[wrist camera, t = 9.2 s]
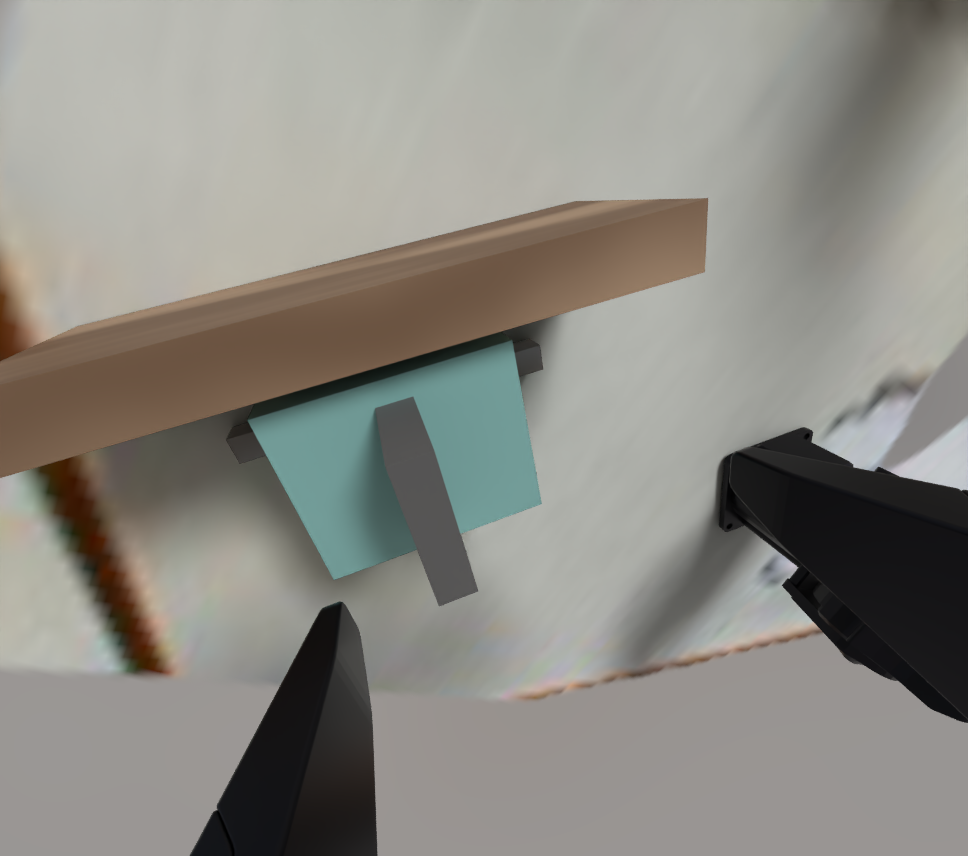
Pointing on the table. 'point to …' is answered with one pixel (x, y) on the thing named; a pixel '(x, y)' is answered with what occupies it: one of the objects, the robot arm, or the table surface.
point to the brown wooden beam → (333, 324)
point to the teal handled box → (406, 458)
